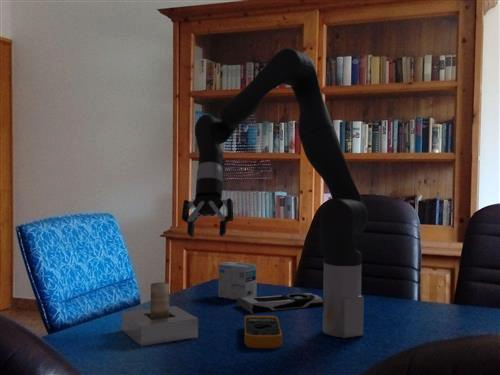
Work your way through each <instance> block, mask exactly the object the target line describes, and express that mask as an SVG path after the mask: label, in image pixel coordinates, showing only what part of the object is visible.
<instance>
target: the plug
mask: <svg viewBox="0 0 500 375" xmlns="http://www.w3.org/2000/svg"><path fill="white" fill-rule="evenodd" d="M169 307H170V283H168V282H154V283H151V284H150V309H151V316H150V319H151V320H154V319H162V318H169Z"/></svg>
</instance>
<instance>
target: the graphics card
mask: <svg viewBox="0 0 500 375" xmlns="http://www.w3.org/2000/svg"><path fill="white" fill-rule="evenodd" d="M240 306H241V307H240ZM236 307H240V308H242V309H243V310H245V309H246V310H245V311H247V312H249V313H250V314H251V315H254V313H255V314H256V312H258V313H265V311H269V312H278V311H277V310H280V311H289V310H297V309H298V310H299V309H307V308H317V307H323V298H322V297H321V296H319V295H317V294H314V293H311V292H310V293H309V292H304V293H302V292H301V293H290V294H283V295H281V294H280V295H279V294H278V295H270V296H268V295H267V296H257V297H242V298H237V300H236Z"/></svg>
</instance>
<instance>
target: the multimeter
mask: <svg viewBox="0 0 500 375" xmlns="http://www.w3.org/2000/svg"><path fill="white" fill-rule="evenodd" d="M243 320H244V322H243V324H244V339H243V340H244V345H245V346H246V347H247V348H251V349H278V348H280V347H281V346H282V343H283V333H282V330H281V327H280V322H279V317H277V316H276V315H252V314H251V315H250V314H249V315H245V316H244V318H243Z"/></svg>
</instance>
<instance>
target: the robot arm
mask: <svg viewBox="0 0 500 375" xmlns="http://www.w3.org/2000/svg"><path fill="white" fill-rule="evenodd" d="M280 85H286V86H289V87H290V88H291V89H292V91H293V93H294V96H295V98H296V101H297V104H298V109H299V117H298V126H297V127H298V130H297V131H298V137H299V140H300V143H301V146H302V149H303V152H304V155H305V157H306V159H307V161H308V162H309V164H310V165H311V166H312V168H313V169H314V170H315V171H316V172H317V174H318V175H319V177H320V178H321V179H322V180H323V182H324V183H325V185H326V187H327V188H328V190H329V194H330V196H331V199H330V200H327V201H326V202H325V203H324V205H323V206H322V209H321V211H320V217H319V219H320V220H319V231H320V234H319V235H320V249H321V253H322V255H323V294H322V296H323V298H322V300H323V306H322V332H323V334H326V335H328V336H331V337H336V338H337V337H338V338H342V339H349V338H356V337H360V336H363V335H364V310H365V309H364V308H365V306H364V303H365V300H364V299H365V297H364V296H363V295H362V262H363V256H362V253H361V252H360V251H359V250H357V249H356V248H355V244H354V243H355V242H354V235H358V234H361V233H362V232H364V230H365V229H366V227H367V225H368V222H369V214H368V210H367V207H366V204H365V202H364V200H363V198H362V196H361V193H360V192H359V190H358V188H357V185H356V184H355V181H354V179H353V176H352V175H351V172H350V169H349V165H348V163H347V161H346V158H345V157H346V156H345V155H344V153H343V150H342V147H341V143H340V140H339V137H338V134H337V131H336V130H335V126H334V124H333V121H332V120H331V117H330V113H329V111H328V110H329V109H328V108H327V105H326V102H325V100H324V97H323V94H322V90H321V86H320V81H319V76H318V74H317V69H316V65H315V62H314V60H313V59H312V58H311V57H310V56H309V55H308V54H306V53H304V52H302V51H299V50H297V49H293V48H290V47H289V48H283V49H280V50H279V51H278V52H276V53H275V55H274V56H273V57H272V58H270V60H269V61H268V62H267V63H266V64H265V65H264V67H263V68H262V69H260V70H259V72H258V74H256V76H255V77H253V79H252V80H251V81H250V82H249V83H248V84H247V85H246V87H244V88H243V89H242V90H241V91H240V92H239V93H237V94H236V95H235V96H234V97H233V98H230V100H229V101H227V102H226V103H225V104H223V106H221V108H220V109H219V116H220V118H221V119H219V118H216V117H215V116H212V115H211V114H202V115H201V116H199V117H198V118H197V121H196V123H195V127H194V136H195V140H196V145H197V146H196V147H197V150H198V164H197V171H196V179H195V180H196V182H195V183H196V184H195V196H194V200H193V201H191V200H188V199H184V201H183V205H182V211H181V213H182V214H181V220H182V221H183V222H184V223H187V234H188V236H189V237H190V238H195V222H197V220H198V219H200V218H201V217H202V216H203V217H207V216H210V217H214V216H218V218H219V220H220V221H219V236H220V237H224V235H226V233H227V224H228V223H229V222H233V221H234V201H233V200H232V198H227V199H223V185H224V184H223V183H224V169H223V168H224V167H223V164H224V151H223V149H222V148H221V147H220V146H219V145H221V144H224V143H227V141H228V140H229V139H230V137H231V136H232V134H234V132H235V131H236V129H237V128H238V127H239V125H240V124H242V123H243V122H245V121H246V120H248V119H249V118H250V117H251V116H253V114H254V113H255V112H257V110H258V109H259V107H260V106H261V103H262V102H263V100H264V98H265V97H266V95H268V94H269V93H270V92H271V91H273V90H274V89H276V88H277V87H279V86H280ZM223 206H225V208H226V212H227V213H226V214H227V216H224V214H222V212H221V211H220V210H221V208H222V207H223ZM192 207H194V208H195V209H194V210H193V211H192V212H191V214H190V210H191V209H192ZM189 215H190V216H189Z"/></svg>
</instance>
